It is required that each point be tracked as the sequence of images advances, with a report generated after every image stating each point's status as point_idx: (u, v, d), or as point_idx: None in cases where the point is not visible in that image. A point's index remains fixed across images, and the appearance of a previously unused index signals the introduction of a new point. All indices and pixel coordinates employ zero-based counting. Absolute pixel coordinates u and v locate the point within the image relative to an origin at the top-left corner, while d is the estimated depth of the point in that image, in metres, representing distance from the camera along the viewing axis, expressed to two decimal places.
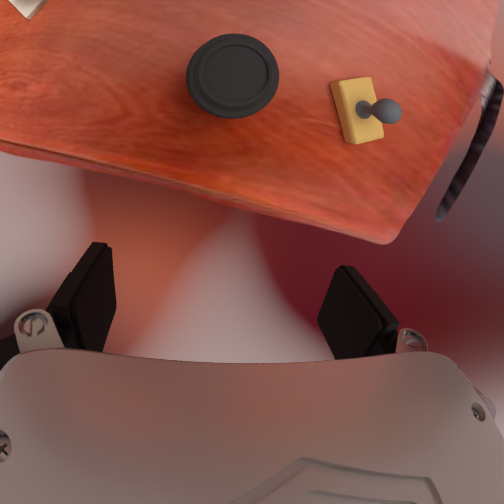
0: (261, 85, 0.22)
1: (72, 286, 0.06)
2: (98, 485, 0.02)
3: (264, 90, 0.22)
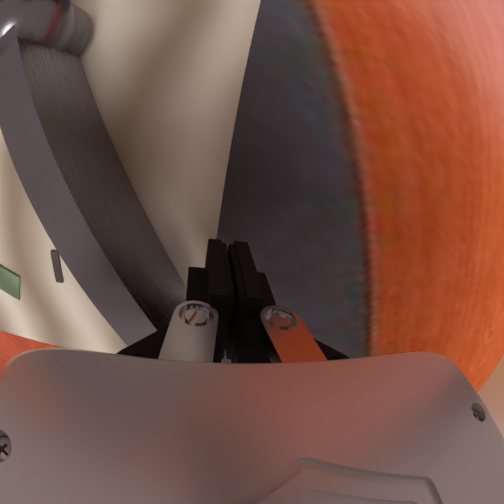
0: None
1: (221, 278, 0.08)
2: (98, 485, 0.02)
3: None
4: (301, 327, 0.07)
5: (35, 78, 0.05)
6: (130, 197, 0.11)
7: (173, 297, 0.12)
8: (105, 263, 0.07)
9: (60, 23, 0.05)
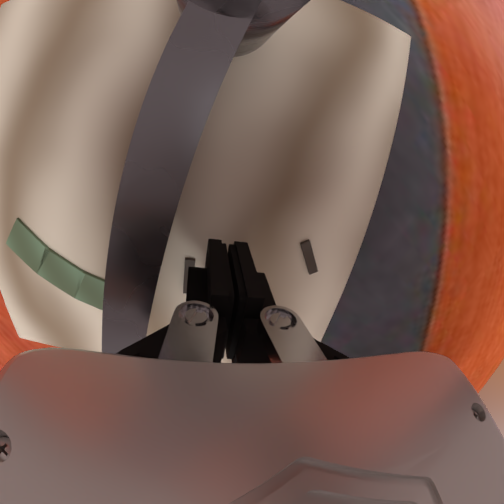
0: None
1: (221, 278, 0.08)
2: (98, 485, 0.02)
3: None
4: (301, 327, 0.07)
5: None
6: None
7: None
8: (147, 307, 0.08)
9: (270, 32, 0.06)
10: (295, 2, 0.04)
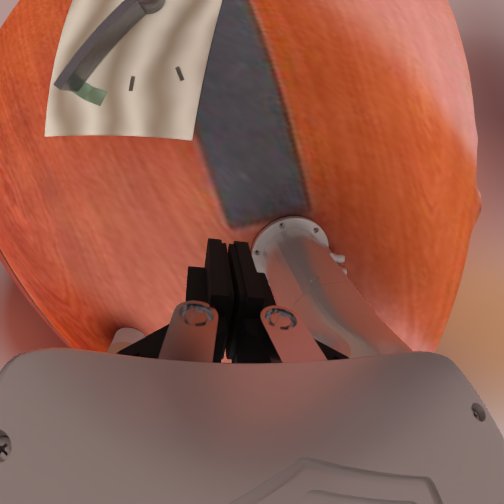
0: None
1: (221, 277, 0.09)
2: (98, 485, 0.02)
3: None
4: (301, 327, 0.07)
5: (127, 12, 0.19)
6: (104, 53, 0.23)
7: (78, 79, 0.23)
8: (87, 51, 0.20)
9: (148, 5, 0.20)
10: None
